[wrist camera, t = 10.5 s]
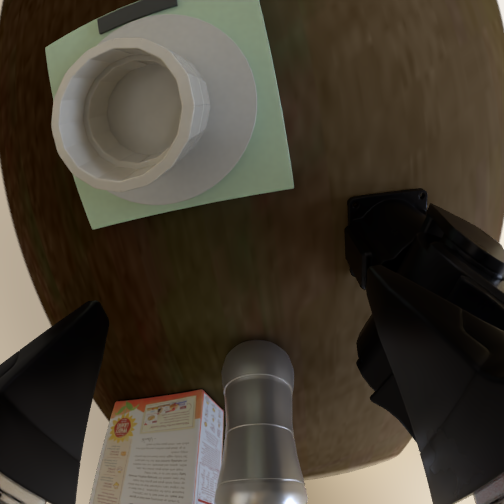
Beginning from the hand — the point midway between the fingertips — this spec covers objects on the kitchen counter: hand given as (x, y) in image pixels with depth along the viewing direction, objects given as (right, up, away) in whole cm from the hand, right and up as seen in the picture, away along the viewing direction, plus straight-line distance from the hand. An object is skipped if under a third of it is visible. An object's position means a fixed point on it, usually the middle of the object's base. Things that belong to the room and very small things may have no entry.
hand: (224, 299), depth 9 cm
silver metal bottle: (+1, -8, +18) cm, 20 cm away
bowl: (-5, +9, +5) cm, 12 cm away
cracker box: (-10, -18, +24) cm, 31 cm away
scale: (-5, +11, +7) cm, 14 cm away
